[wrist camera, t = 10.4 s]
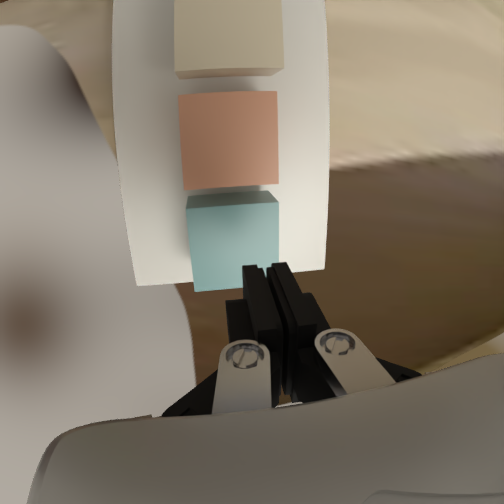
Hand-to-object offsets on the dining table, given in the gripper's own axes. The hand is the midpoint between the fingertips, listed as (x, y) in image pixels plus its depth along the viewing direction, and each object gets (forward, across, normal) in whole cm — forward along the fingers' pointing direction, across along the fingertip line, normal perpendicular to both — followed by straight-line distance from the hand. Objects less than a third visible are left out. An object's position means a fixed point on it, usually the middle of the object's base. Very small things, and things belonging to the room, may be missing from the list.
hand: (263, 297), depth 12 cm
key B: (+10, +1, -11) cm, 15 cm away
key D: (+12, +1, +1) cm, 12 cm away
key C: (+12, +1, -5) cm, 13 cm away
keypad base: (+13, +1, -8) cm, 16 cm away
